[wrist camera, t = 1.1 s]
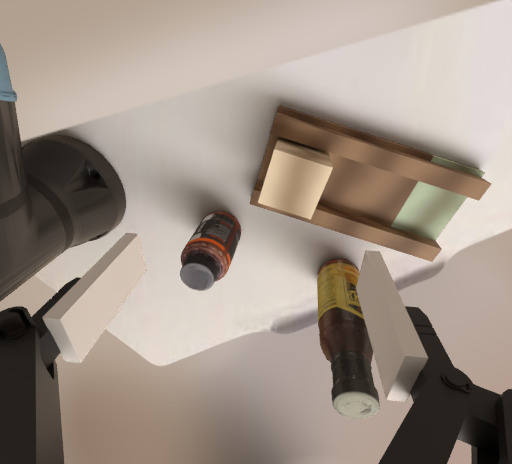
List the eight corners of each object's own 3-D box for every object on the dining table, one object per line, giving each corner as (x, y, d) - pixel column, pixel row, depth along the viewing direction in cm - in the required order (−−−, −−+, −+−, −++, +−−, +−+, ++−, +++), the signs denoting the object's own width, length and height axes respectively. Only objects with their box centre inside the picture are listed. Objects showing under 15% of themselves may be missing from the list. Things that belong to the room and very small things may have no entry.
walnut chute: (252, 198, 38) (248, 207, 36) (279, 105, 32) (277, 108, 30) (421, 252, 39) (429, 265, 36) (480, 169, 32) (495, 178, 30)
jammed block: (264, 183, 36) (257, 202, 31) (279, 136, 33) (274, 149, 28) (309, 197, 36) (310, 219, 31) (328, 152, 33) (333, 167, 28)
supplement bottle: (199, 209, 40) (165, 254, 31) (240, 210, 40) (219, 256, 30) (205, 245, 43) (176, 296, 34) (243, 246, 43) (225, 299, 33)
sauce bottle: (366, 281, 42) (408, 424, 25) (327, 294, 45) (341, 434, 28) (348, 247, 40) (380, 381, 23) (308, 263, 42) (310, 396, 25)
